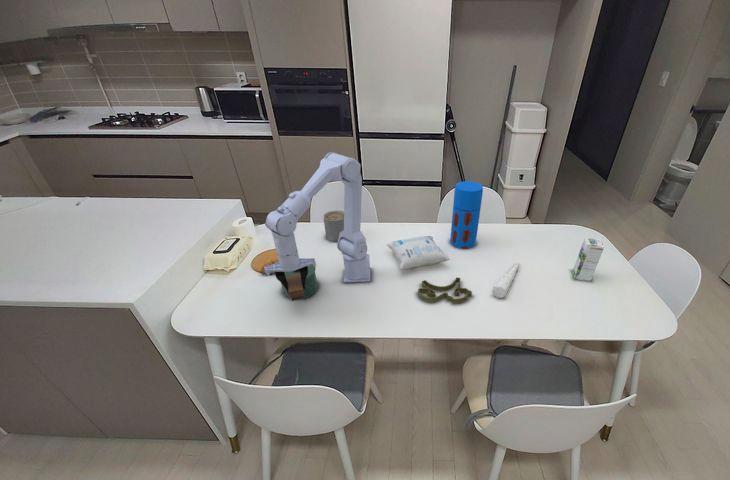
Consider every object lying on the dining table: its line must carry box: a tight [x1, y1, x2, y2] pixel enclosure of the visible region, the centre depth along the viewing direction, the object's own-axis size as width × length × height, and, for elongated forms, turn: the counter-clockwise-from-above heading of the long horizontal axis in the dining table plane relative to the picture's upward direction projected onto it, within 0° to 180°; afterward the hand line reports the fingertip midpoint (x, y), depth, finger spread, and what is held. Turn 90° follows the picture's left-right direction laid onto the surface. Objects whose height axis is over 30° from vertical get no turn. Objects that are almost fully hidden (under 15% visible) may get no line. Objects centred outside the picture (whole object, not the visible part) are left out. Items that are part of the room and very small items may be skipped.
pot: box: [280, 271, 318, 299], centre depth 121 cm, size 12×12×8 cm
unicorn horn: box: [491, 263, 519, 299], centre depth 126 cm, size 5×24×5 cm, turn 146°
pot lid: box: [285, 266, 316, 280], centre depth 118 cm, size 13×13×3 cm
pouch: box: [385, 235, 451, 270], centre depth 136 cm, size 8×19×20 cm
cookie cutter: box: [417, 277, 473, 305], centre depth 121 cm, size 18×12×2 cm, turn 98°
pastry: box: [260, 257, 279, 275], centre depth 131 cm, size 9×7×4 cm
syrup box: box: [572, 237, 605, 282], centre depth 126 cm, size 6×6×14 cm
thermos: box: [450, 180, 484, 250], centre depth 142 cm, size 11×11×25 cm
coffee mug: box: [322, 209, 344, 243], centre depth 151 cm, size 13×10×10 cm
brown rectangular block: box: [287, 273, 305, 302], centre depth 109 cm, size 9×4×4 cm, turn 20°
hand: (296, 288), depth 110 cm, fingers closed on brown rectangular block, 4 cm apart
